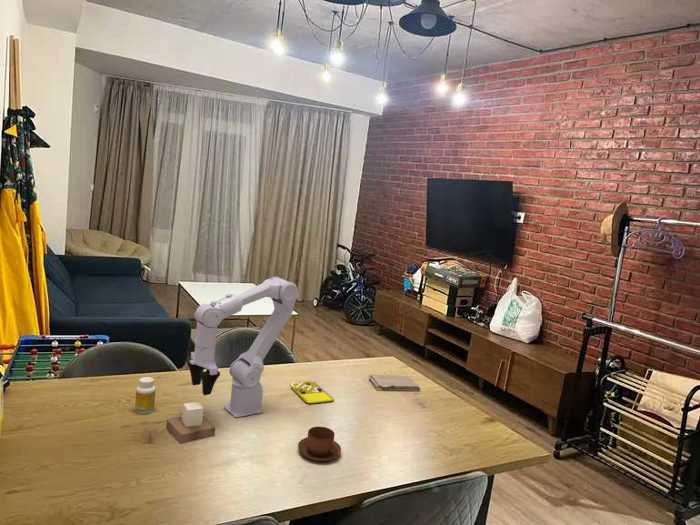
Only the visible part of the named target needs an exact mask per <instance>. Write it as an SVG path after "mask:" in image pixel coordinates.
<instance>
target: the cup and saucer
mask: <svg viewBox="0 0 700 525" xmlns="http://www.w3.org/2000/svg"><path fill="white" fill-rule="evenodd" d="M335 435H336V434H335V432H334V430H332V429H331V428H330V427H329V428H328V427H325V426H313V427H311V428H308V431H307V437H304V438H303V439H301V440H299V442H298V444H297V449H298V451H299V452H300V453H301V454H302V455H303V456H304V457H305V458H308V459H310V460H312V461H313V460H314V461H319V462H327V461H331V460H333V459H335V458H337V457H338V456H339V455H340V454H341V451H342V448H341V445H340V444H339V443H338V442H337V441H335Z"/></svg>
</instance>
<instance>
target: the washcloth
mask: <svg viewBox="0 0 700 525" xmlns="http://www.w3.org/2000/svg"><path fill="white" fill-rule="evenodd" d="M368 381H369V383H370V384H371V385H372V386H373V388H374V390H376V391H380V392H397V393H398V392H405V393H406V392H407V393H409V392H410V393H411V392H412V393H414V392H415V393H417V392H419V391H420V390H421V388H420V385H418V384H417V383H416V382H414V381H413V379H412V378H411V377H410V376H408V375H395V374H393V375H391V374H370V375H369V376H368Z"/></svg>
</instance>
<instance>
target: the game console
mask: <svg viewBox="0 0 700 525" xmlns="http://www.w3.org/2000/svg"><path fill="white" fill-rule="evenodd" d="M289 386H290V387H291V388H290V387H289V388H290V390H292V391H293V393H295V395H297V397H298V398H300V400H302V402H303V403H305V404H306V405H308V406H312V405H322V404H329V403H334V402H335V399H334V398H333V397H332V396H331V394H329V393H328V392H327V391H326V390H324V388H322V387H321V386H320V385H319V384H318V383H317V382H316V381H313V380H312V381H311V380H309V381H298V382H292V383H291V384H290V385H289Z"/></svg>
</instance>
